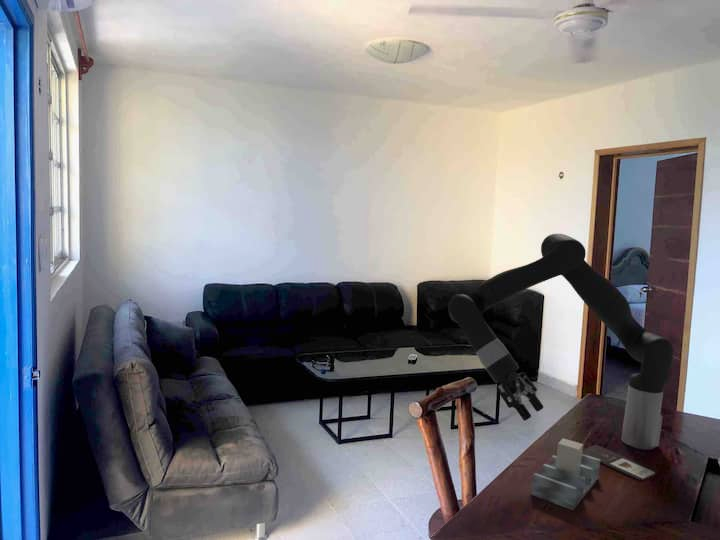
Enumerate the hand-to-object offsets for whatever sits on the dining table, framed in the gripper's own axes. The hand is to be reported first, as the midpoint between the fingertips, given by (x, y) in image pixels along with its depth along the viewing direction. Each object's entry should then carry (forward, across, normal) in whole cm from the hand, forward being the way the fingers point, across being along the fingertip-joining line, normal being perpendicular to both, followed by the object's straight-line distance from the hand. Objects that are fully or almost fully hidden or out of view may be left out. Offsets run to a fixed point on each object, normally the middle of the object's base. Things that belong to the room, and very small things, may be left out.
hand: (534, 414), depth 149 cm
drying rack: (+18, 0, +4) cm, 19 cm away
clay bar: (+17, 0, +4) cm, 18 cm away
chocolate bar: (+23, +23, 0) cm, 33 cm away
